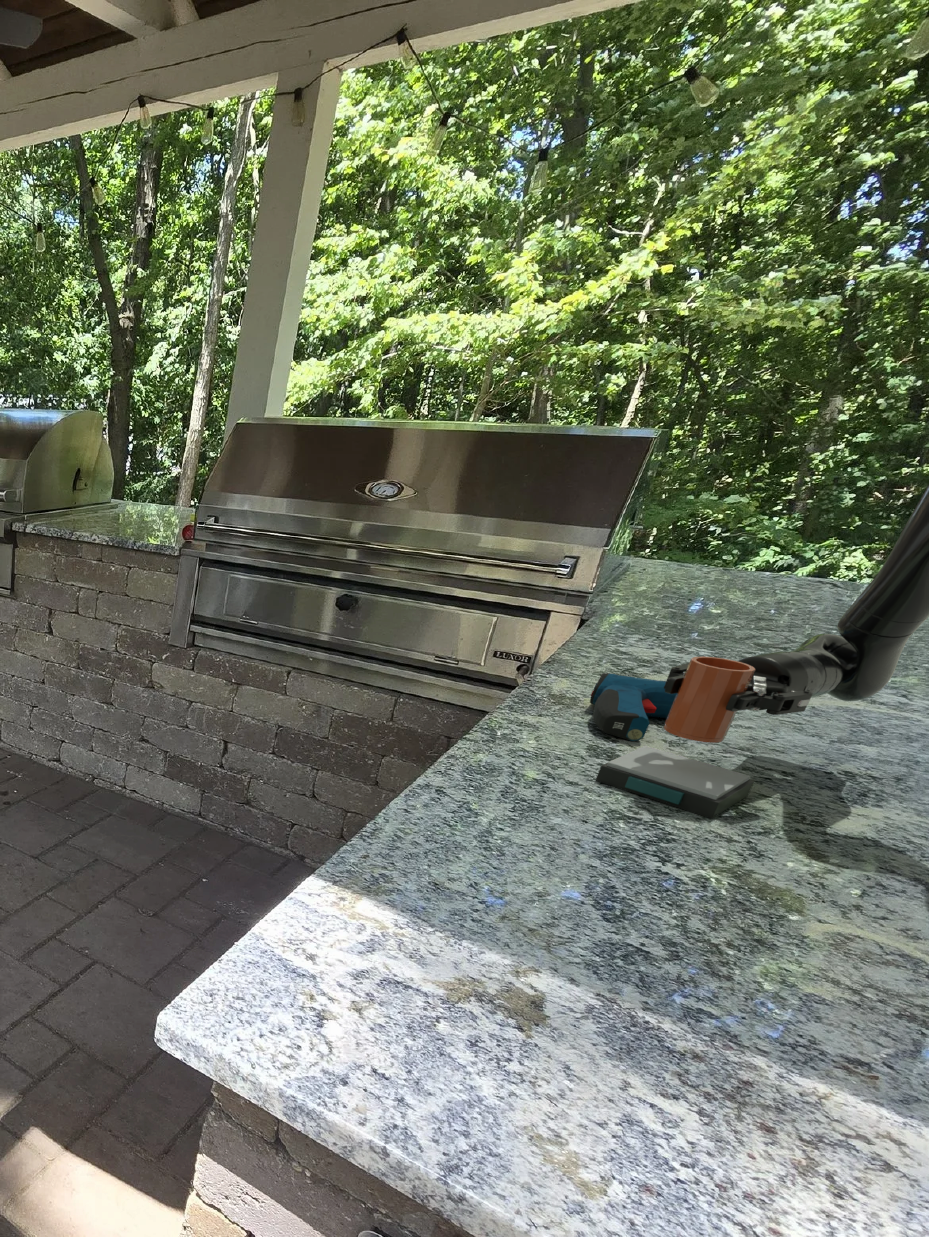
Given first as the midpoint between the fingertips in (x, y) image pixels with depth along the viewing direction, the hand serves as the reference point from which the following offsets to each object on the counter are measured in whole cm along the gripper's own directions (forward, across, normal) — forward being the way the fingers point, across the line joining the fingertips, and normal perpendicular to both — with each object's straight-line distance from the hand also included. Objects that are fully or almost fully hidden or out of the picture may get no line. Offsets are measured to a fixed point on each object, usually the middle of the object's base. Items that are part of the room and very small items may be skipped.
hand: (700, 694), depth 105 cm
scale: (-2, 0, +14) cm, 14 cm away
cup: (-2, 0, +6) cm, 6 cm away
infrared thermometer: (-24, -17, +15) cm, 33 cm away
